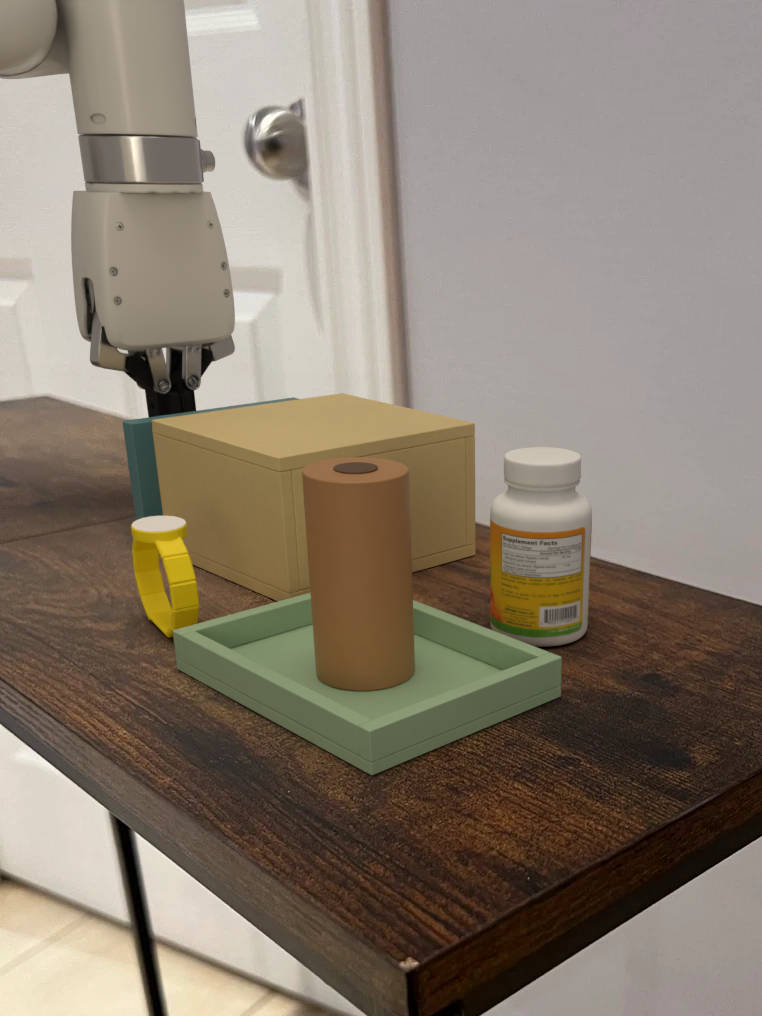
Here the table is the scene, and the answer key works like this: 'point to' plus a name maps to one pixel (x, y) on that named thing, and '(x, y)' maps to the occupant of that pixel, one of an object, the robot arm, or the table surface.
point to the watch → (166, 541)
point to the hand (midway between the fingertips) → (176, 445)
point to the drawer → (153, 460)
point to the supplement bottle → (540, 549)
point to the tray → (379, 713)
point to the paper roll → (360, 571)
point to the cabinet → (279, 487)
